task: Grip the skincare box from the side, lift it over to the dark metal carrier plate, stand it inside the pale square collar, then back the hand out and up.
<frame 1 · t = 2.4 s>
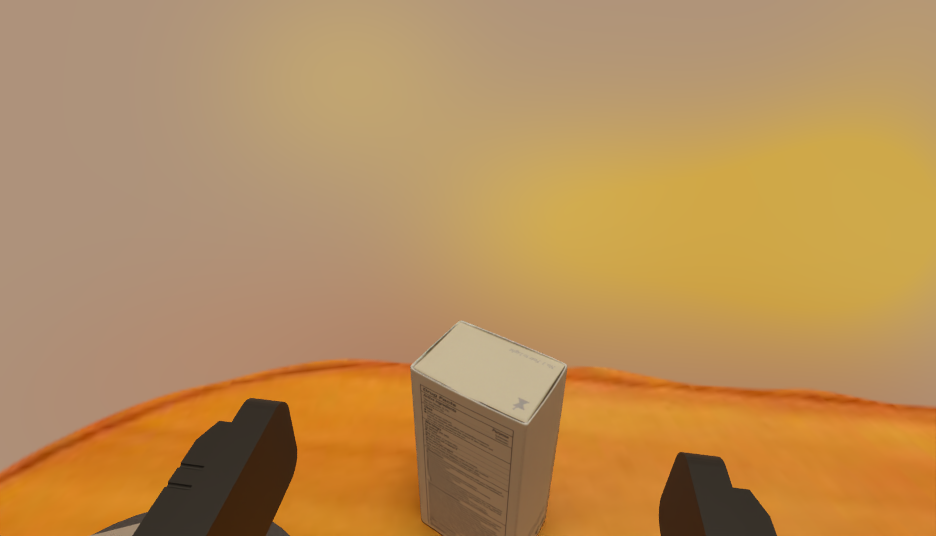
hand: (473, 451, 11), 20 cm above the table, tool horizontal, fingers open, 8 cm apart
skincare box: (480, 522, 32), on the table
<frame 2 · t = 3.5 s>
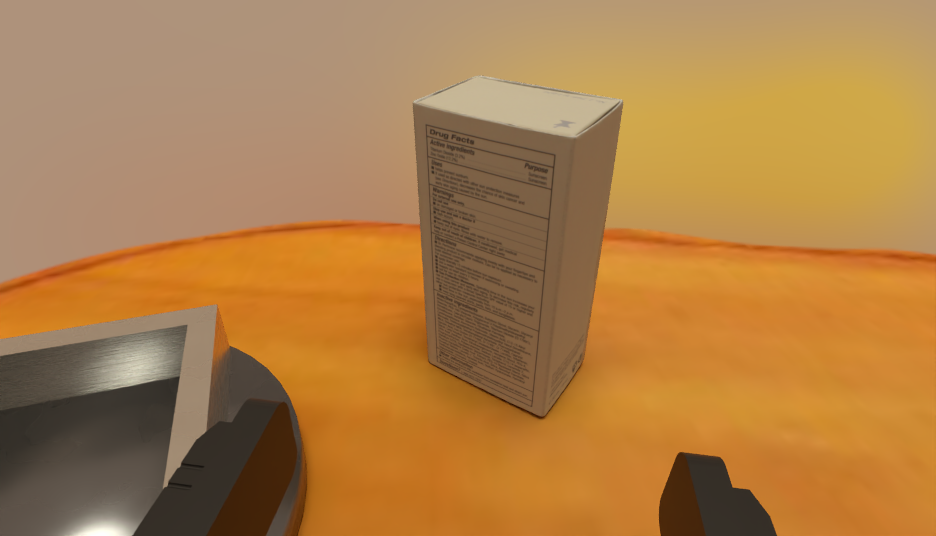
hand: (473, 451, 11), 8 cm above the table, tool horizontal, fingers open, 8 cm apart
skincare box: (502, 365, 25), on the table
carrier: (60, 523, 18), on the table
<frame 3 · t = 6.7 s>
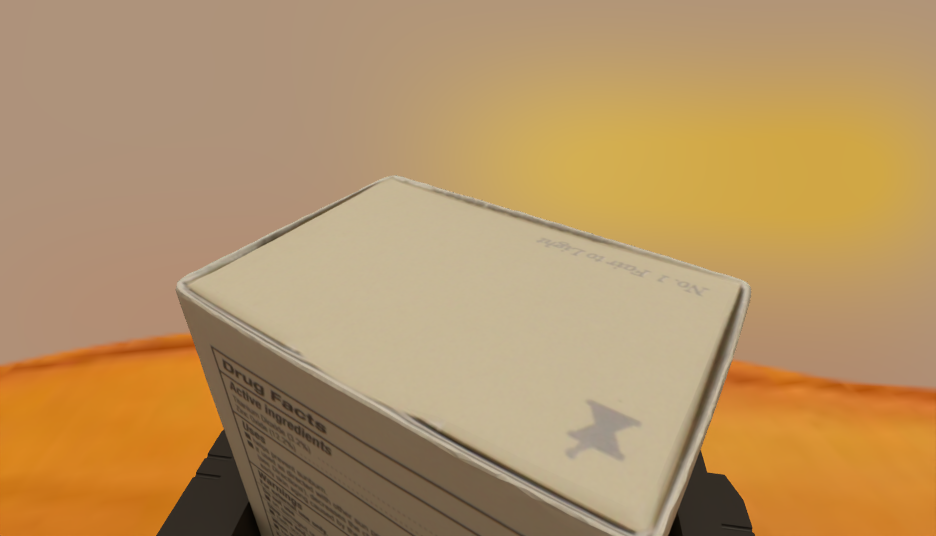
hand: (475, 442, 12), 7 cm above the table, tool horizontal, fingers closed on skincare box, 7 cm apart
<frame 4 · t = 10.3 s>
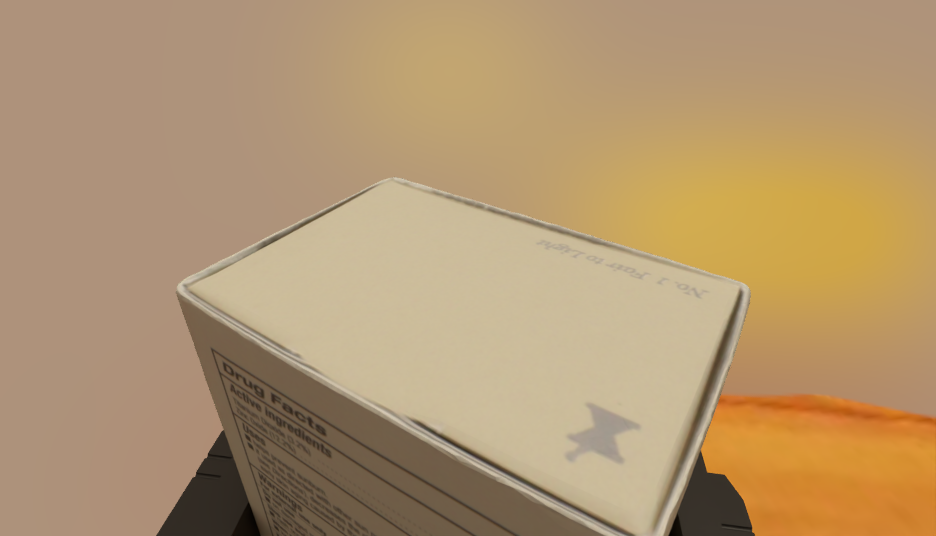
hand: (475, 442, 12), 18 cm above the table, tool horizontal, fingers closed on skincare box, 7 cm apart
when the fingers open (9 cm above the table, at t = 13.0 s): skincare box stays where it is, resting on carrier.
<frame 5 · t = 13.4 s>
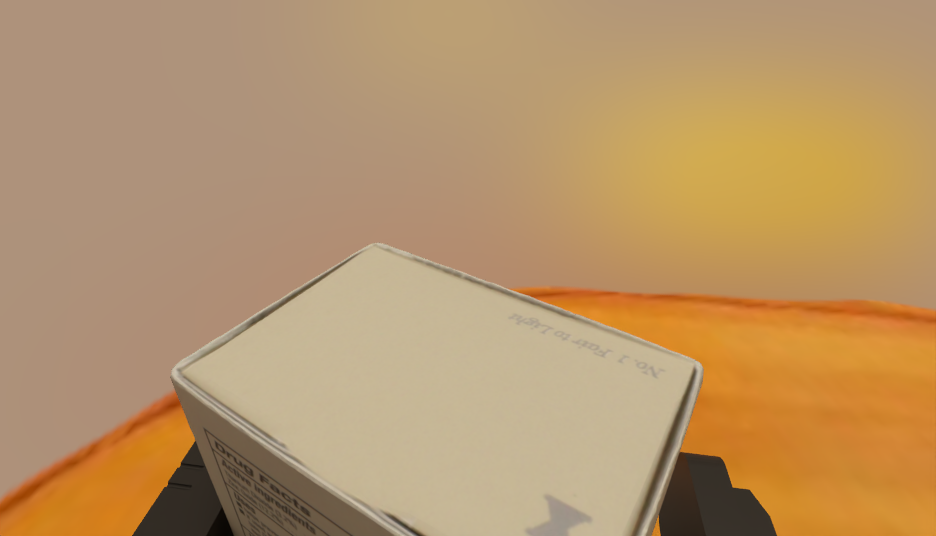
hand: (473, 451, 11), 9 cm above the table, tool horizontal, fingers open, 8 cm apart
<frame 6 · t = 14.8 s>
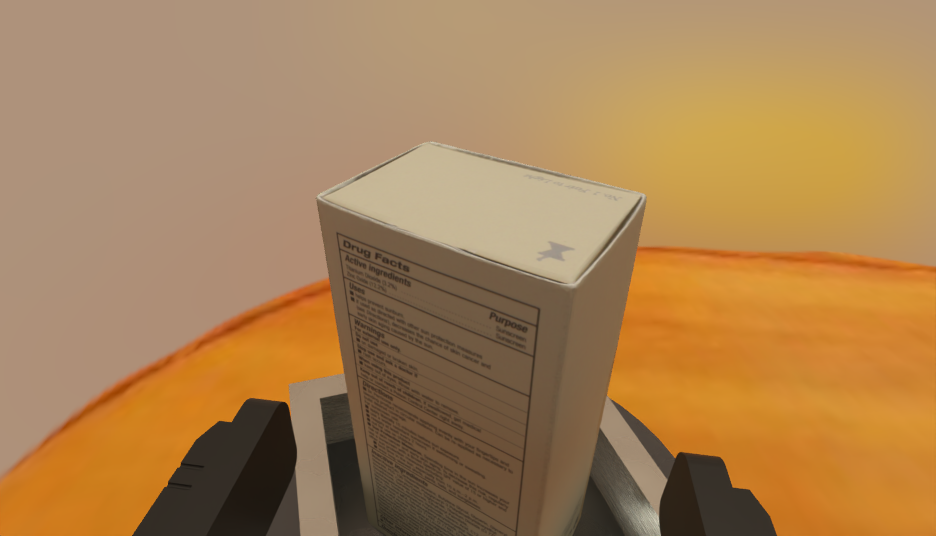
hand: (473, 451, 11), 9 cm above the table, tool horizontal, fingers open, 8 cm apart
skincare box: (469, 524, 19), point 1 cm above the table, touching carrier
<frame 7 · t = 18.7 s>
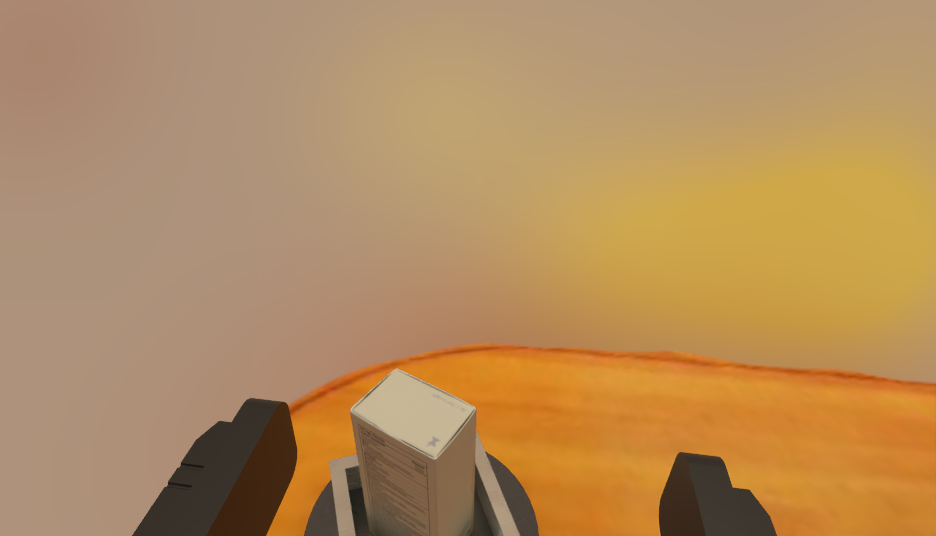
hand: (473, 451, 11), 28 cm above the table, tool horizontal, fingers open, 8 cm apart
skincare box: (418, 533, 38), point 1 cm above the table, touching carrier
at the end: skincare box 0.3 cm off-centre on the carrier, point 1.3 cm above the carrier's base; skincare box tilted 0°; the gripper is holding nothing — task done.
